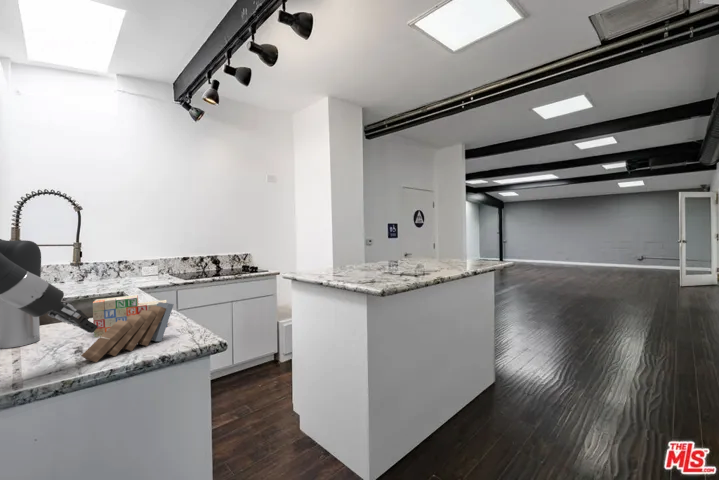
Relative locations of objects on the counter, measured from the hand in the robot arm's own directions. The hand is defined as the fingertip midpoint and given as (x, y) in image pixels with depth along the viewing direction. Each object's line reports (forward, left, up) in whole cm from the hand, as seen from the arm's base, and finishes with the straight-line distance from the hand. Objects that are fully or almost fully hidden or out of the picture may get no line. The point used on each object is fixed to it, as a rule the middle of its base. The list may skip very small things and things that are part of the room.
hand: (93, 329), depth 86 cm
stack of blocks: (-7, +28, -9) cm, 30 cm away
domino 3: (+4, +6, -8) cm, 11 cm away
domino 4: (+6, +10, -8) cm, 14 cm away
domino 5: (+8, +14, -8) cm, 18 cm away
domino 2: (+1, +3, -8) cm, 8 cm away
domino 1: (-1, -1, -8) cm, 8 cm away
